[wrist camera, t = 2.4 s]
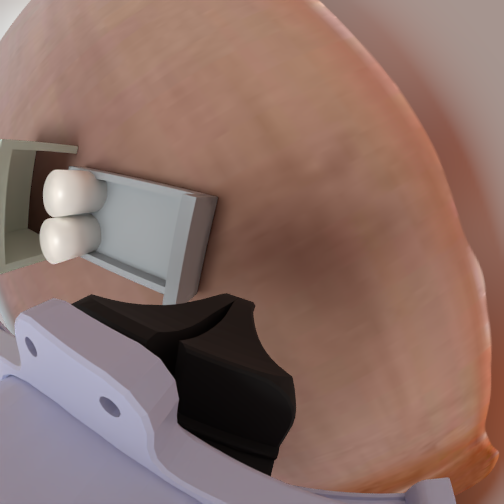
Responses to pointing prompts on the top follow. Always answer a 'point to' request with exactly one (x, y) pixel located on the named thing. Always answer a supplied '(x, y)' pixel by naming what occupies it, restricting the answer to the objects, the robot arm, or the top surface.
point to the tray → (129, 228)
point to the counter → (19, 202)
